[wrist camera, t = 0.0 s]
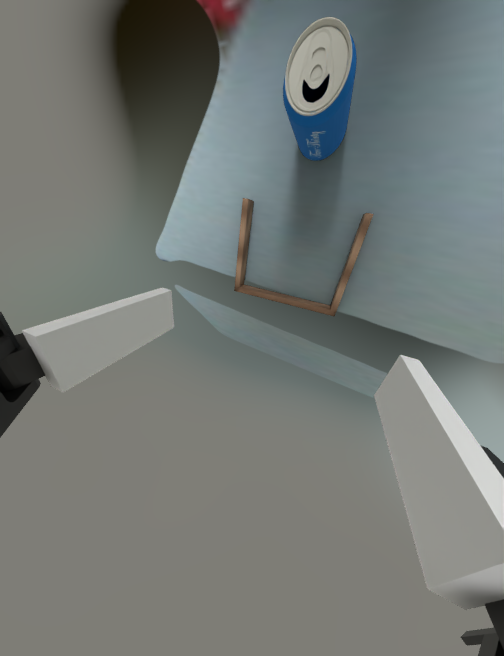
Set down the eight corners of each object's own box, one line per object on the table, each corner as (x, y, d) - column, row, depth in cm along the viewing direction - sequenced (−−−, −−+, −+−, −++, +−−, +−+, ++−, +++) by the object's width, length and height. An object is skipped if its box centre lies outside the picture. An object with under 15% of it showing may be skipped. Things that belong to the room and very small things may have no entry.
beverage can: (295, 164, 29) (277, 126, 19) (301, 104, 26) (283, 22, 16) (341, 160, 27) (347, 114, 17) (352, 95, 24) (368, -6, 14)
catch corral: (248, 200, 33) (242, 198, 31) (370, 215, 28) (373, 213, 26) (239, 287, 41) (234, 290, 39) (334, 311, 36) (334, 316, 34)
